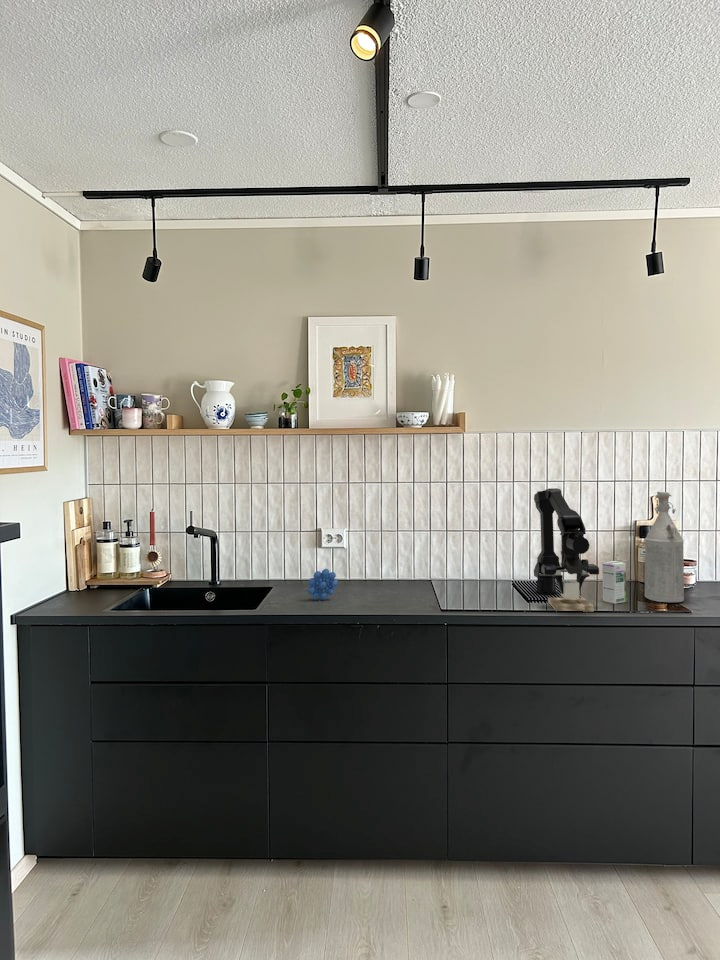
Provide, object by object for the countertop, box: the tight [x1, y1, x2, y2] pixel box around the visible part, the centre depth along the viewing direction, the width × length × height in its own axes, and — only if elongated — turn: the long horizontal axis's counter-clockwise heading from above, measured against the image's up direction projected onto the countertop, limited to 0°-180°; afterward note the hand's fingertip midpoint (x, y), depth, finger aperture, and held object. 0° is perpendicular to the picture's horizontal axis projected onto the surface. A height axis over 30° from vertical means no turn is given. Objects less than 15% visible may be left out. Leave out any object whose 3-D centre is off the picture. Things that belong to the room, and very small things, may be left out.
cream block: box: [560, 579, 580, 599], centre depth 222 cm, size 5×5×6 cm
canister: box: [644, 491, 685, 603], centre depth 232 cm, size 13×17×40 cm
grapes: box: [307, 568, 339, 601], centre depth 241 cm, size 12×7×12 cm, turn 96°
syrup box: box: [601, 560, 627, 605], centre depth 230 cm, size 6×6×14 cm
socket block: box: [547, 597, 595, 613], centre depth 222 cm, size 12×12×2 cm
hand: (569, 593), depth 222 cm, fingers closed on cream block, 5 cm apart
